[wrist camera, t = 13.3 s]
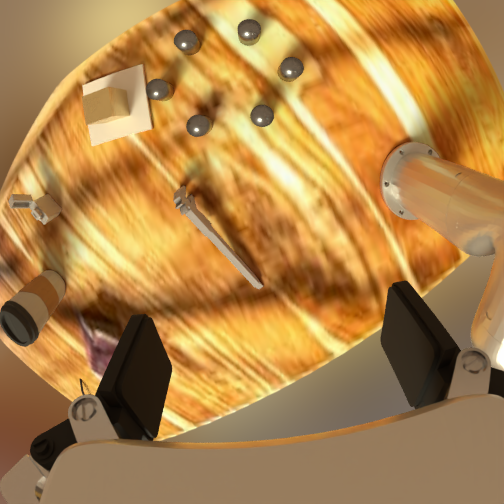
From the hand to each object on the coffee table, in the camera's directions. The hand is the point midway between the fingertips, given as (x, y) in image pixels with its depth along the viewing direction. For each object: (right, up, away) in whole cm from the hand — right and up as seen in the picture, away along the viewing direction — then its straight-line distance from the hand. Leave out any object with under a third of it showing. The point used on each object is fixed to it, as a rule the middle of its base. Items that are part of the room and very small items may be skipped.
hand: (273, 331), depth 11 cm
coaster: (-20, +24, +24) cm, 40 cm away
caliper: (-5, +5, +34) cm, 35 cm away
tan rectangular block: (-20, +24, +23) cm, 39 cm away
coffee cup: (-39, -3, +37) cm, 54 cm away
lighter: (-36, +12, +30) cm, 48 cm away
